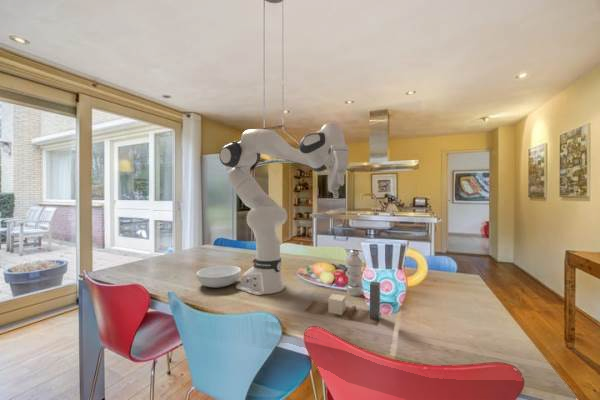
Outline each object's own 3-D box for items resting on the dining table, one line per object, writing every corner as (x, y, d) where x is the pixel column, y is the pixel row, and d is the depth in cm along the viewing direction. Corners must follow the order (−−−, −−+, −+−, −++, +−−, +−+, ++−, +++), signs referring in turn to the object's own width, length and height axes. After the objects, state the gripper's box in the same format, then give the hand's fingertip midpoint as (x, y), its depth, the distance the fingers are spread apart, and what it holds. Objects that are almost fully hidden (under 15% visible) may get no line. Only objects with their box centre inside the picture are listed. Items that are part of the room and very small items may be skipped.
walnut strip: (304, 314, 95) (304, 278, 95) (313, 303, 105) (313, 271, 104) (377, 329, 85) (377, 288, 85) (381, 316, 94) (381, 279, 94)
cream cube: (328, 312, 94) (328, 298, 94) (332, 307, 99) (332, 293, 99) (341, 315, 92) (341, 300, 92) (345, 309, 97) (345, 296, 97)
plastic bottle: (351, 300, 109) (351, 252, 108) (344, 294, 115) (344, 249, 115) (365, 298, 110) (365, 251, 110) (357, 292, 117) (357, 248, 117)
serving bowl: (246, 278, 138) (246, 265, 137) (232, 293, 117) (232, 278, 117) (208, 277, 140) (208, 264, 139) (188, 291, 119) (187, 276, 119)
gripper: (323, 173, 109) (325, 203, 103) (331, 142, 90) (335, 176, 84) (338, 174, 109) (341, 203, 103) (349, 142, 91) (354, 176, 85)
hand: (338, 191), depth 94 cm, fingers open, 8 cm apart
